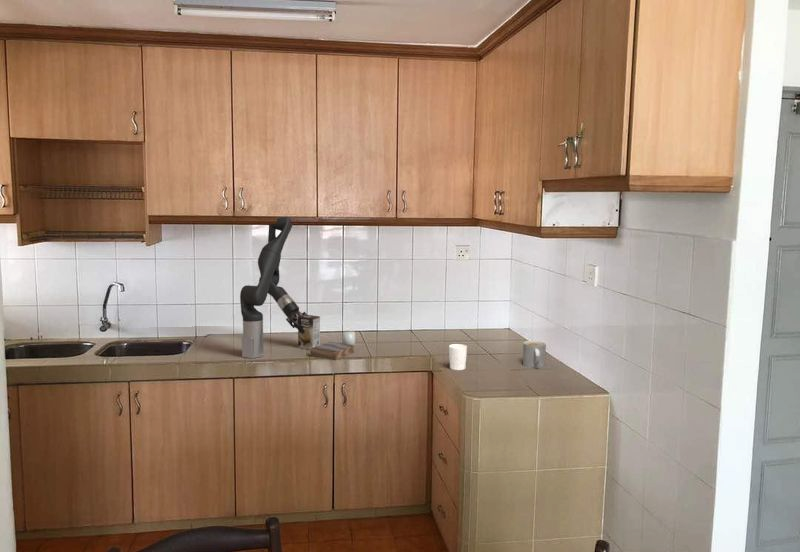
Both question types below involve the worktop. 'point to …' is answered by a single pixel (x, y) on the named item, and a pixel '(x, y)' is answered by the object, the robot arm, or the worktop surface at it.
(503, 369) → the worktop surface
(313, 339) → the coffee box
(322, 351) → the podium
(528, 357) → the coffee mug
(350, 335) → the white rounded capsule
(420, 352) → the worktop surface
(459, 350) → the white cup
